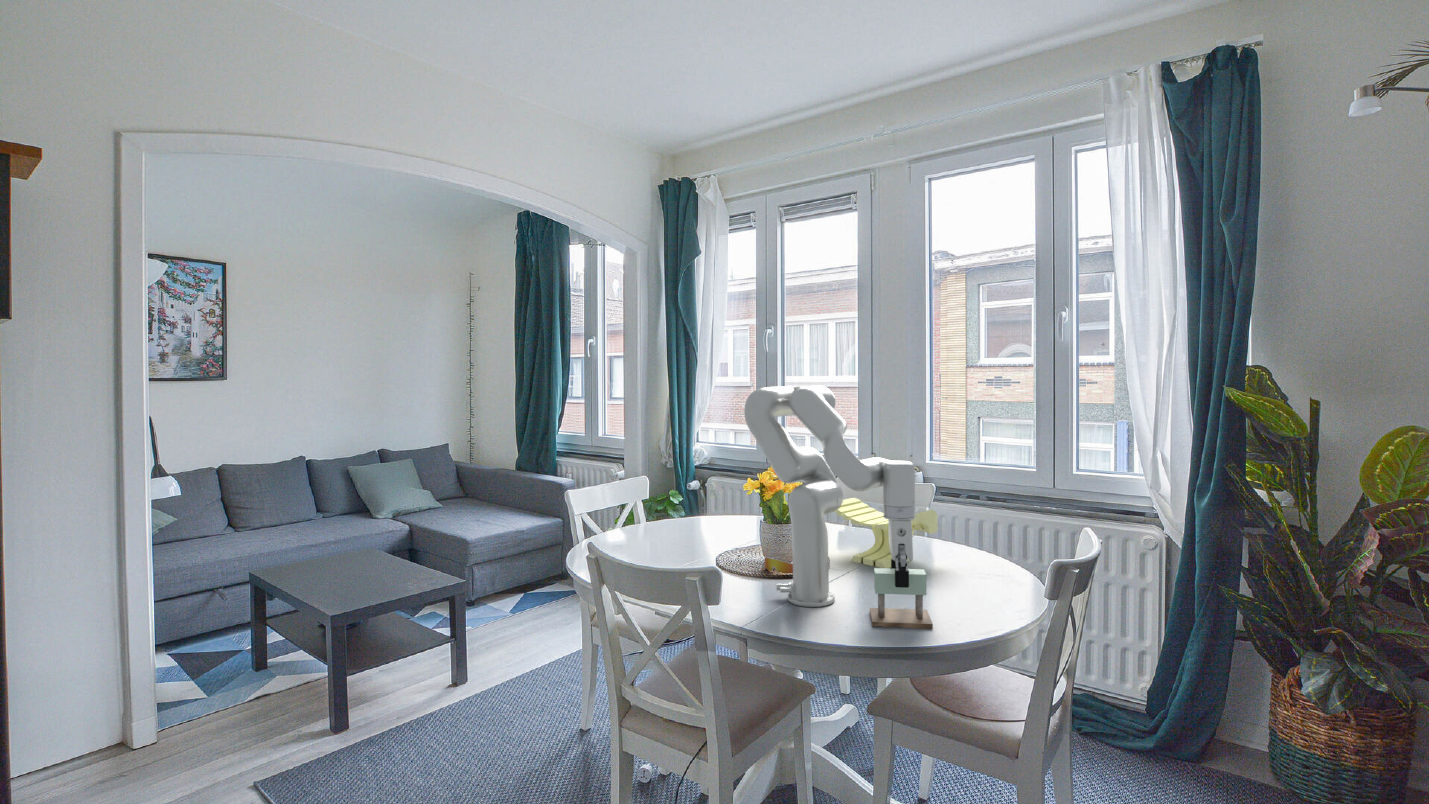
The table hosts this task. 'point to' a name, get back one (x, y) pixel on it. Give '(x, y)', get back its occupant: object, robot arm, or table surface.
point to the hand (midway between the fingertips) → (899, 581)
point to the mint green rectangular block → (886, 582)
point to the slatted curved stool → (881, 529)
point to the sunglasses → (778, 565)
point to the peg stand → (901, 615)
